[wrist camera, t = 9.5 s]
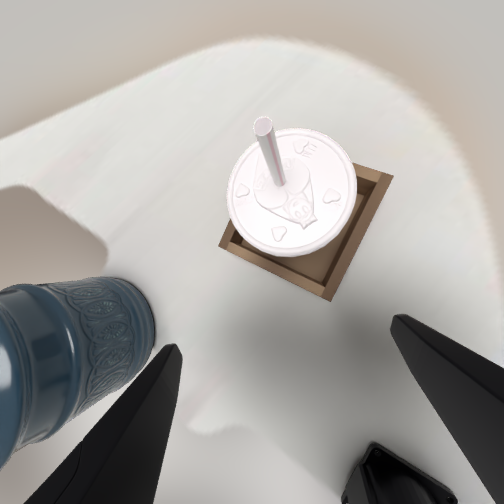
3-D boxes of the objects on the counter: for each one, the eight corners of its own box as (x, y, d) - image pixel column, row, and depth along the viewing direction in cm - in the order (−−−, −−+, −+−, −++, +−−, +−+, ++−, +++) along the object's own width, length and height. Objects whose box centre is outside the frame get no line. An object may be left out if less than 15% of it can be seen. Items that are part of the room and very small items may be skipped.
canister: (115, 254, 25) (-271, 244, 8) (178, 335, 23) (-193, 560, 6) (59, 322, 27) (-345, 426, 10) (111, 403, 25) (-311, 721, 8)
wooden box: (375, 193, 18) (393, 175, 14) (325, 293, 19) (330, 302, 15) (274, 158, 21) (267, 135, 17) (233, 248, 22) (218, 246, 18)
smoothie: (304, 176, 19) (304, -23, 6) (346, 231, 18) (472, 150, 5) (249, 217, 20) (141, 134, 7) (286, 271, 19) (243, 299, 6)
